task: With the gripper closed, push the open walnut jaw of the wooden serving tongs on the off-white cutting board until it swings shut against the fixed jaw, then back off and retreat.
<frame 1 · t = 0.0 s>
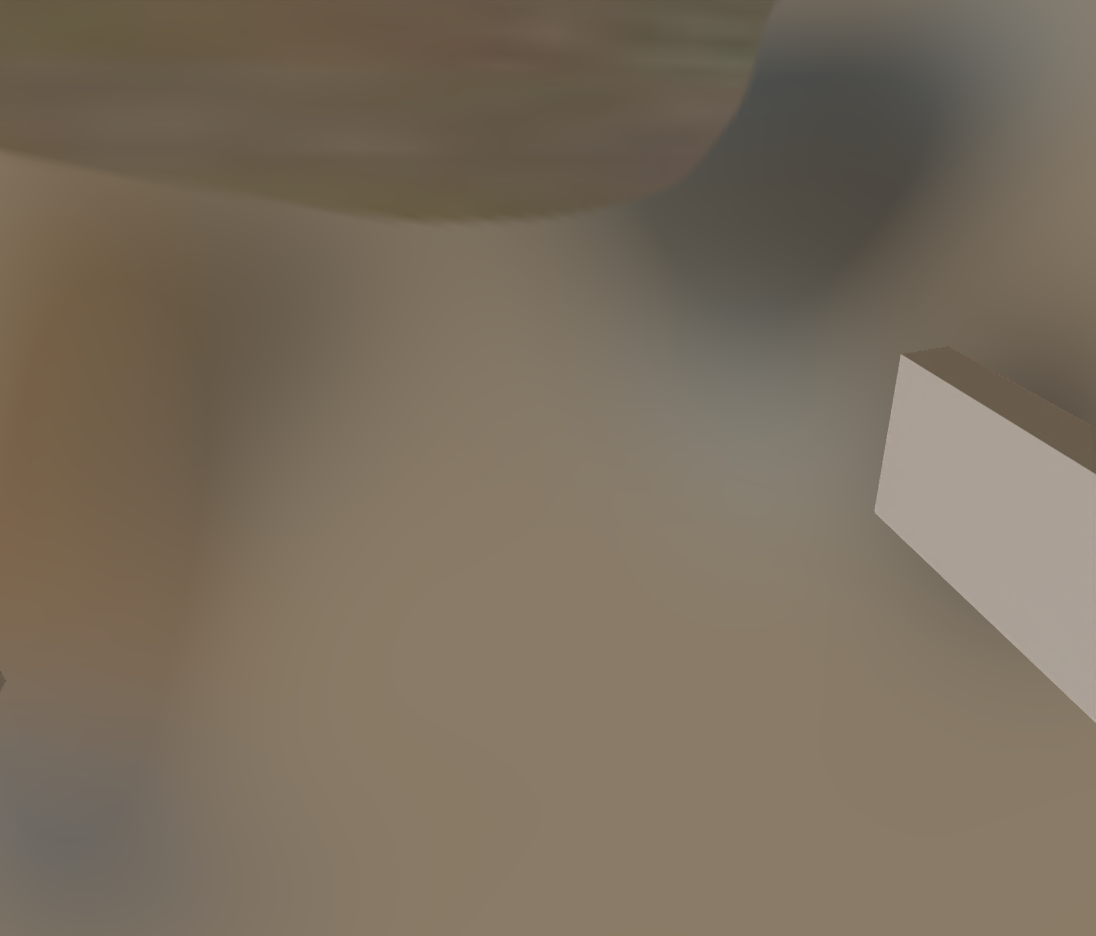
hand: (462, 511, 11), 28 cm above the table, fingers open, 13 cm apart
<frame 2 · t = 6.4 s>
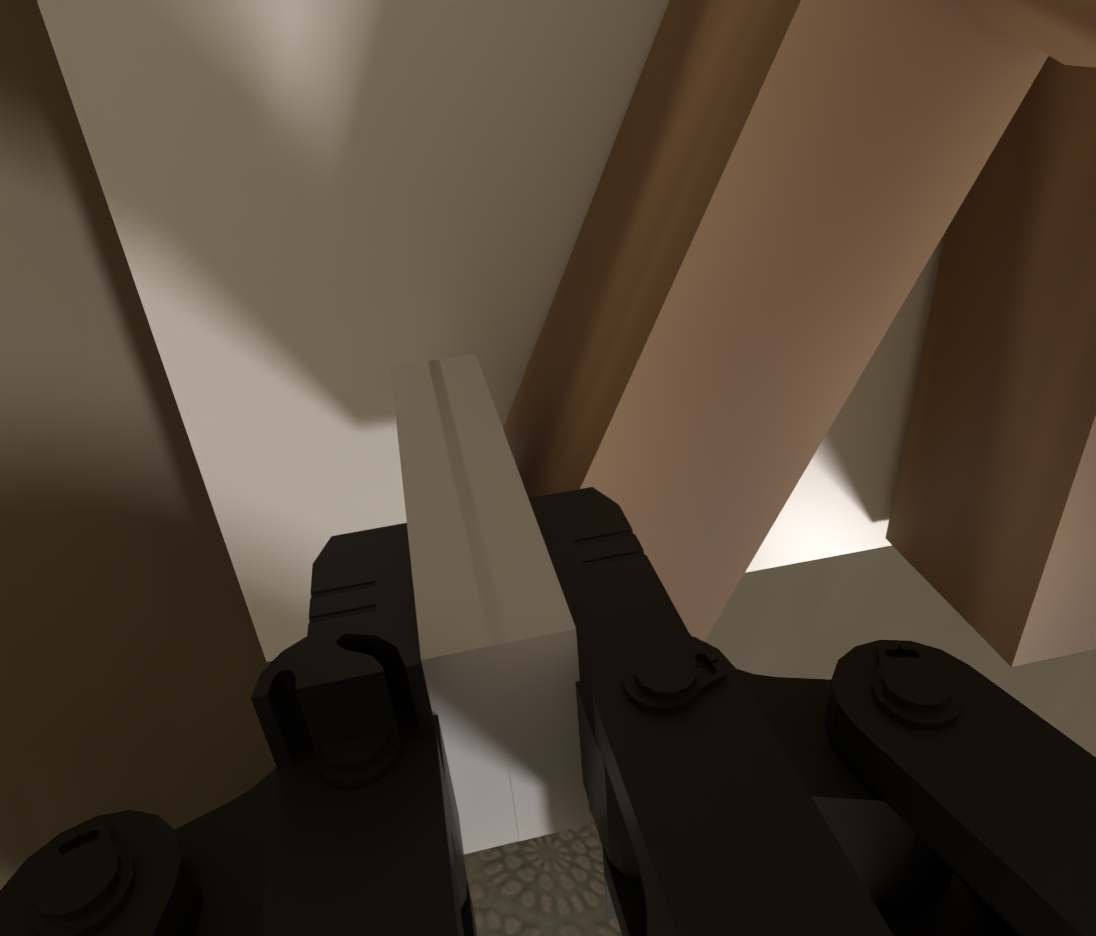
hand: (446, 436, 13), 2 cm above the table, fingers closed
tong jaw: (999, 145, 10), point 5 cm above the table, hinge at 25.2°, touching gripper
board: (648, 200, 14), on the table
planter: (465, 865, 23), on the table
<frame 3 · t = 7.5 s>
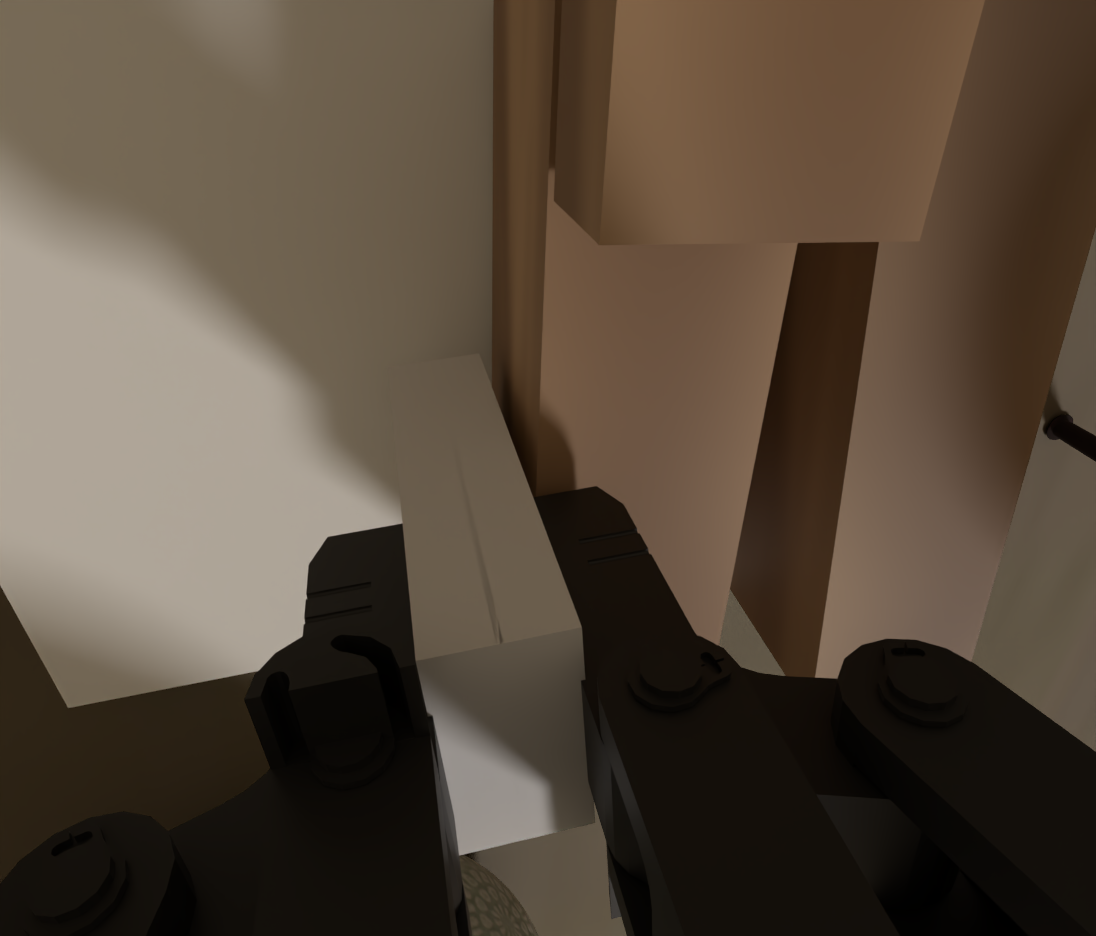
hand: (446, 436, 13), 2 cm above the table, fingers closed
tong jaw: (816, 242, 10), point 5 cm above the table, hinge at 6.4°, touching gripper
lollipop: (1054, 426, 19), on the table
board: (431, 233, 14), on the table
planter: (335, 902, 23), on the table
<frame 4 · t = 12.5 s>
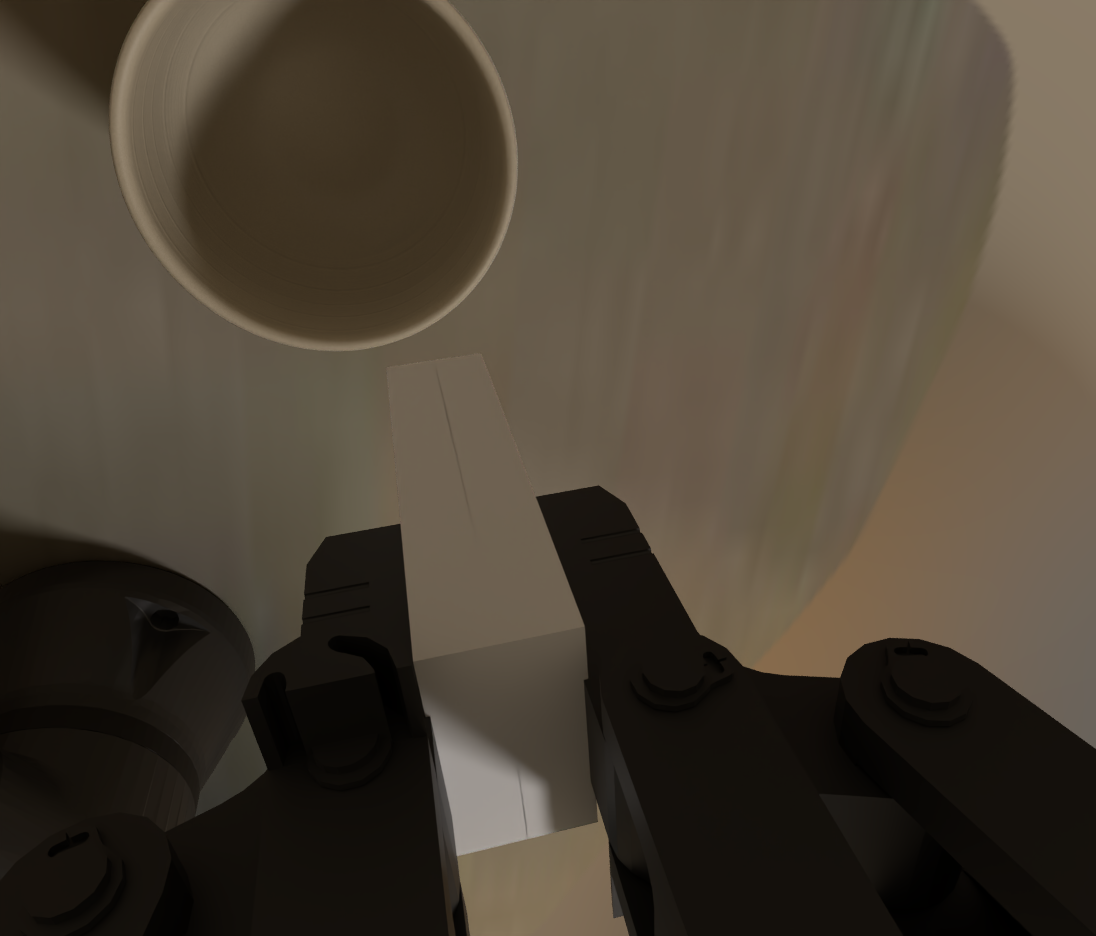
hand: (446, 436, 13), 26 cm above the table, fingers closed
planter: (333, 126, 34), on the table
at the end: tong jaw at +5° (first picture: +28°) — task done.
